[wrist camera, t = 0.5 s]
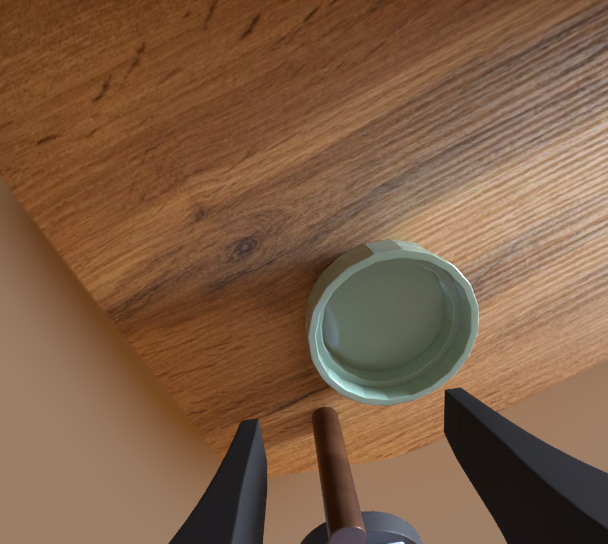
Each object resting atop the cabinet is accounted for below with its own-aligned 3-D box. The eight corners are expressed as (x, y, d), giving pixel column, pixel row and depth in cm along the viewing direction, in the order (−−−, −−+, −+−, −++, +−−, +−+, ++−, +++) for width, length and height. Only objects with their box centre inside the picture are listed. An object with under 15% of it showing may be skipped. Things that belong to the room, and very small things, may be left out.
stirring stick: (339, 425, 27) (368, 549, 18) (313, 429, 27) (331, 557, 18) (336, 404, 26) (364, 523, 18) (309, 409, 26) (326, 530, 18)
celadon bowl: (455, 364, 26) (477, 389, 23) (316, 389, 26) (321, 418, 23) (454, 226, 23) (480, 236, 20) (293, 253, 22) (295, 267, 19)
